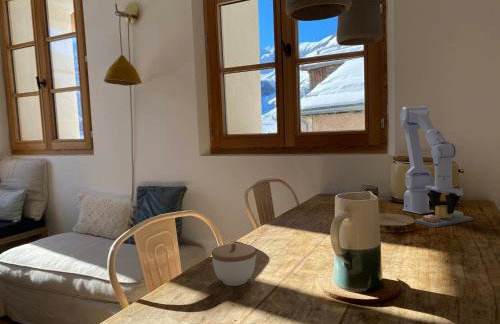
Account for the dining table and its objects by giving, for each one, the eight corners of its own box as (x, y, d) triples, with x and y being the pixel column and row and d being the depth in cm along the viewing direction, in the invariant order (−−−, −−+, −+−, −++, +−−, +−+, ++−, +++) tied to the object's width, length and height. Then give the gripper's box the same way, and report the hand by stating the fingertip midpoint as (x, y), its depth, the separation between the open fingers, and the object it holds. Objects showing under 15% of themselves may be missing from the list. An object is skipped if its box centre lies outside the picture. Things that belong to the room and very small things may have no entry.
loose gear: (431, 215, 140) (431, 206, 140) (442, 213, 142) (442, 204, 142) (444, 218, 135) (444, 208, 134) (455, 216, 137) (455, 207, 137)
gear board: (414, 222, 139) (414, 214, 139) (451, 215, 146) (451, 208, 146) (434, 227, 131) (434, 219, 130) (472, 220, 138) (472, 212, 138)
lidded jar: (233, 269, 99) (231, 234, 98) (265, 278, 92) (264, 241, 91) (204, 283, 91) (202, 245, 90) (237, 293, 84) (235, 253, 83)
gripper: (419, 175, 142) (419, 210, 143) (453, 178, 129) (453, 217, 130) (432, 173, 145) (432, 207, 146) (467, 177, 132) (467, 214, 133)
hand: (443, 212), depth 138 cm, fingers closed on loose gear, 5 cm apart
